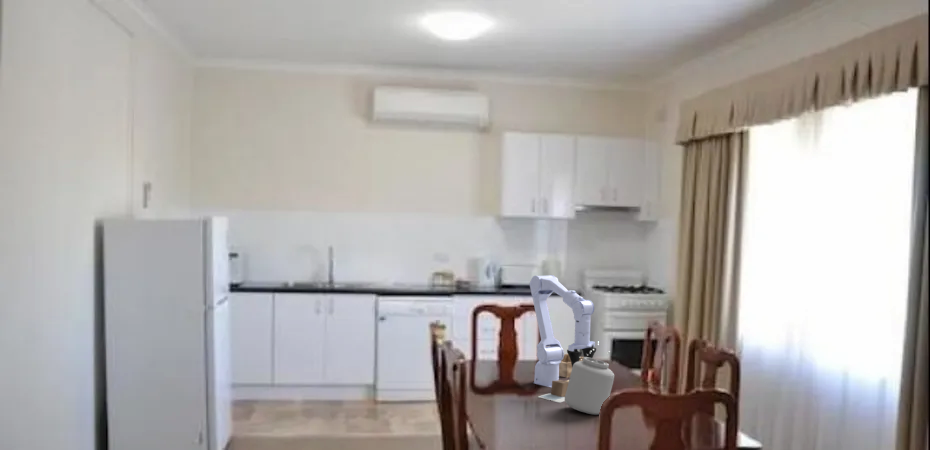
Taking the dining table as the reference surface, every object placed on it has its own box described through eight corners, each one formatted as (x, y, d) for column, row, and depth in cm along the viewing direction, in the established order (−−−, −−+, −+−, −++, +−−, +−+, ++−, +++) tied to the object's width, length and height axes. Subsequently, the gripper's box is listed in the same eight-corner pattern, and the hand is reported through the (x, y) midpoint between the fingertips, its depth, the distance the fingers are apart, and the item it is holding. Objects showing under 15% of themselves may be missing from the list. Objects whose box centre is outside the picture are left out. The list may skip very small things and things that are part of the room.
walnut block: (552, 380, 282) (560, 380, 286) (551, 394, 282) (559, 393, 286) (562, 383, 279) (570, 382, 282) (561, 396, 279) (569, 395, 282)
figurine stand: (544, 372, 320) (544, 358, 319) (567, 367, 331) (567, 353, 331) (566, 377, 311) (567, 363, 311) (589, 372, 322) (589, 358, 322)
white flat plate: (537, 397, 279) (537, 396, 279) (549, 394, 284) (549, 393, 284) (559, 402, 272) (559, 401, 272) (570, 399, 277) (570, 398, 277)
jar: (611, 406, 269) (614, 337, 268) (623, 418, 255) (626, 345, 254) (560, 406, 268) (562, 336, 267) (569, 418, 253) (572, 345, 252)
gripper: (579, 335, 275) (578, 372, 276) (602, 331, 286) (600, 366, 286) (564, 332, 280) (563, 368, 281) (587, 329, 291) (585, 363, 291)
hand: (581, 367), depth 284 cm, fingers open, 7 cm apart
